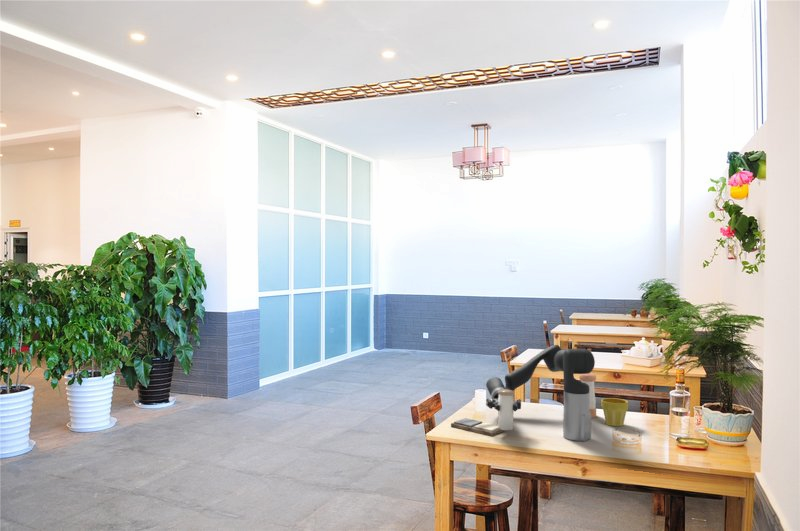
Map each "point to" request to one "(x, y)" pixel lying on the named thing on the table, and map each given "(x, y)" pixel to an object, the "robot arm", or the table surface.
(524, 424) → the table surface
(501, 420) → the tea canister
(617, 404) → the plant pot
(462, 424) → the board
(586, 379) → the pepper shaker
